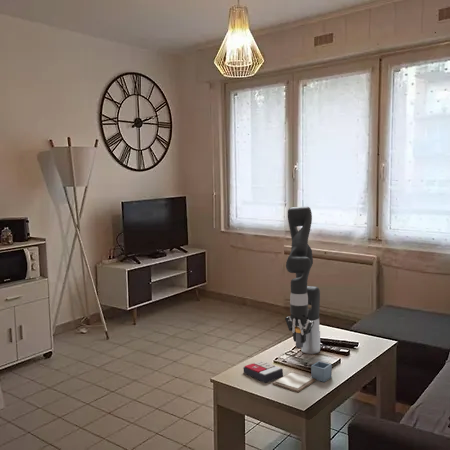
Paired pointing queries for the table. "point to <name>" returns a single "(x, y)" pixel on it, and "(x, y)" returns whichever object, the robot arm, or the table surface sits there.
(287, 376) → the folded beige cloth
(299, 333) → the marker
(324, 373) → the pen cup
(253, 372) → the dark grey box
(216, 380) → the table surface
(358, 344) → the table surface
